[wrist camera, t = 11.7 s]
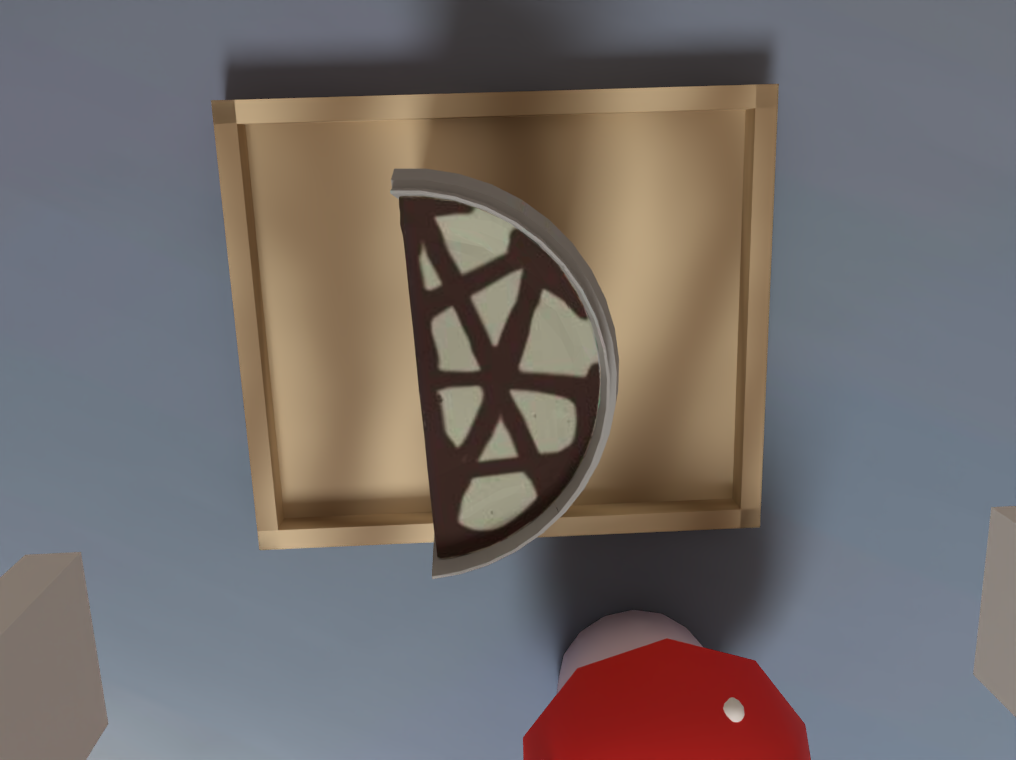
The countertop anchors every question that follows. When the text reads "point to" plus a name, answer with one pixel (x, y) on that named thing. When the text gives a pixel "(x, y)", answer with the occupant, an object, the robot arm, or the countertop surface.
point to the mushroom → (661, 700)
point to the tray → (578, 215)
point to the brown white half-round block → (501, 364)
